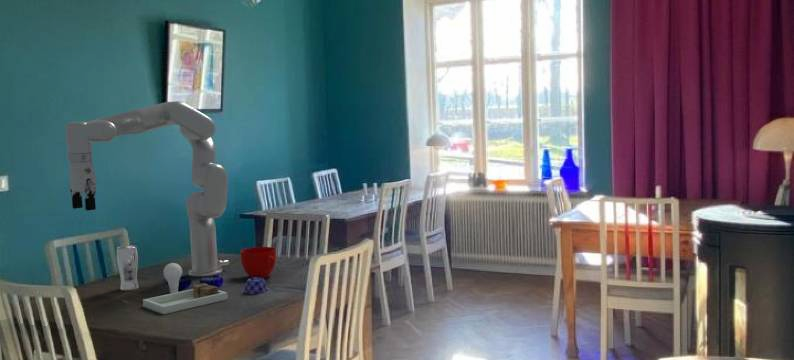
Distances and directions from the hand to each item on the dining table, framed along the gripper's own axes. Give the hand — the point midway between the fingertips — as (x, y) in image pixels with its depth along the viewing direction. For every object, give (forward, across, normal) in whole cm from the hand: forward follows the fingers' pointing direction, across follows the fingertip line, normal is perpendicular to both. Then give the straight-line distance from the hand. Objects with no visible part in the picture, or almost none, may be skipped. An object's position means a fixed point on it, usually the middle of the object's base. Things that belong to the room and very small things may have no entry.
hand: (84, 209), depth 241 cm
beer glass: (+31, 0, -14) cm, 34 cm away
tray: (+30, -38, -14) cm, 50 cm away
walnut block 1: (+30, -36, -21) cm, 51 cm away
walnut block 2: (+30, -41, -20) cm, 54 cm away
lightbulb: (+31, -22, -19) cm, 42 cm away
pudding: (+31, -44, -36) cm, 65 cm away
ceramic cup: (+31, -26, -52) cm, 66 cm away
